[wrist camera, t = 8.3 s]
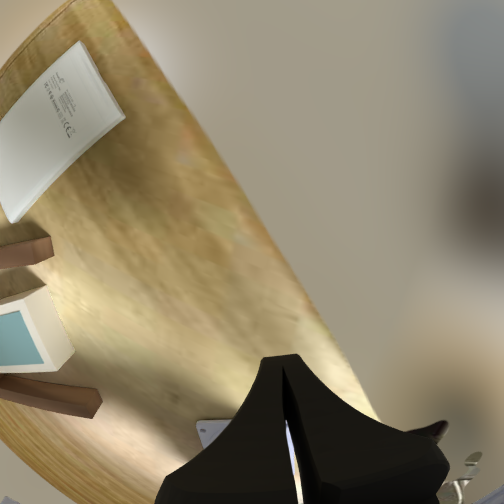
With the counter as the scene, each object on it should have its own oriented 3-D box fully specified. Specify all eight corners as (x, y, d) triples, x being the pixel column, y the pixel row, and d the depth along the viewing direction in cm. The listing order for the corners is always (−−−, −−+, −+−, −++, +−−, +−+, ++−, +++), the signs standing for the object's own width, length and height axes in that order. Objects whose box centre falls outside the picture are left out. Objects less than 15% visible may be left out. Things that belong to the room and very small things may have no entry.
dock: (102, 401, 22) (92, 418, 20) (2, 383, 22) (-9, 395, 20) (50, 236, 19) (30, 242, 16) (-42, 256, 19) (-58, 262, 17)
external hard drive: (-9, 147, 18) (87, 45, 16) (22, 221, 19) (129, 119, 18) (-21, 146, 16) (77, 38, 14) (9, 224, 18) (120, 114, 16)
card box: (77, 349, 21) (56, 371, 18) (17, 356, 22) (-2, 373, 18) (49, 283, 20) (22, 299, 16) (-7, 301, 20) (-30, 314, 17)
